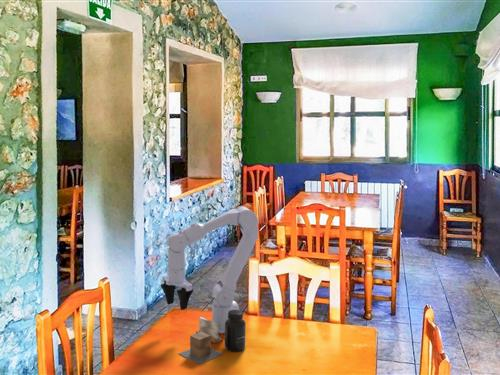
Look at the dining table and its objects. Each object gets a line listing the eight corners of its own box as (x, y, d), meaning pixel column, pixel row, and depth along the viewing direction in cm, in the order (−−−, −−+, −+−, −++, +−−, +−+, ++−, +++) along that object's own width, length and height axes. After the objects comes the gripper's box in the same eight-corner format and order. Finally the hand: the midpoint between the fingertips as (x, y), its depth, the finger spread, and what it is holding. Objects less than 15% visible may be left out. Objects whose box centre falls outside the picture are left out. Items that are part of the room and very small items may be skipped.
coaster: (202, 344, 168) (202, 344, 168) (223, 354, 161) (223, 353, 161) (178, 353, 161) (178, 353, 161) (198, 364, 154) (198, 363, 154)
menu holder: (195, 334, 176) (195, 317, 176) (202, 332, 178) (202, 315, 178) (215, 343, 169) (215, 325, 169) (221, 340, 171) (221, 323, 171)
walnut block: (201, 349, 164) (201, 331, 163) (210, 353, 161) (210, 335, 160) (190, 353, 161) (190, 335, 160) (199, 358, 158) (199, 339, 157)
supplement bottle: (243, 353, 162) (243, 316, 161) (222, 351, 163) (222, 315, 162) (247, 344, 169) (247, 309, 167) (227, 342, 170) (227, 307, 169)
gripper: (154, 266, 178) (155, 303, 179) (180, 274, 167) (180, 314, 169) (171, 262, 183) (171, 299, 184) (196, 270, 172) (197, 309, 174)
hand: (176, 306), depth 177 cm, fingers open, 7 cm apart
